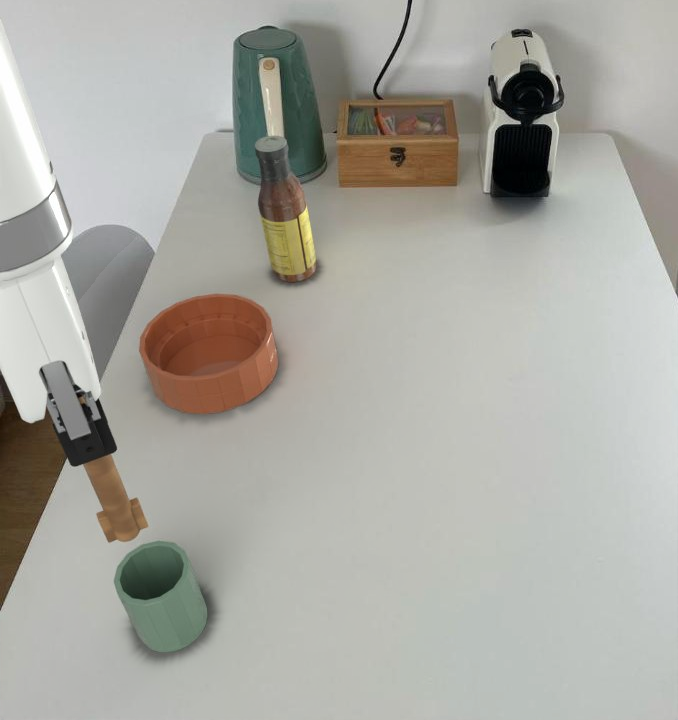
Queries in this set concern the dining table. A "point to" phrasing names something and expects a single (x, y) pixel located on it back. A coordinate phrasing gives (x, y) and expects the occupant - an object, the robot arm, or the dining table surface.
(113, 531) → the wooden dowel rod
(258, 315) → the bowl
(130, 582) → the crock
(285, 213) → the sauce bottle
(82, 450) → the robot arm
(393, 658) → the dining table surface
